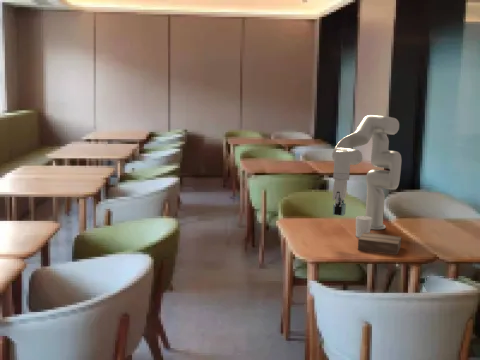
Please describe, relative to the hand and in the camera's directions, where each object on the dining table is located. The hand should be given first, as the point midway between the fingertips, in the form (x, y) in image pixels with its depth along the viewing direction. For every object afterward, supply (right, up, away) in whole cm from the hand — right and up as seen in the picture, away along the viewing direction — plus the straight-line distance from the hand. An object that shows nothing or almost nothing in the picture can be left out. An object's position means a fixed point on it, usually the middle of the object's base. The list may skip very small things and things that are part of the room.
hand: (339, 213), depth 277 cm
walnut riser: (+19, -17, -3) cm, 25 cm away
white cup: (+15, -13, +17) cm, 26 cm away
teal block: (0, -1, 0) cm, 1 cm away
